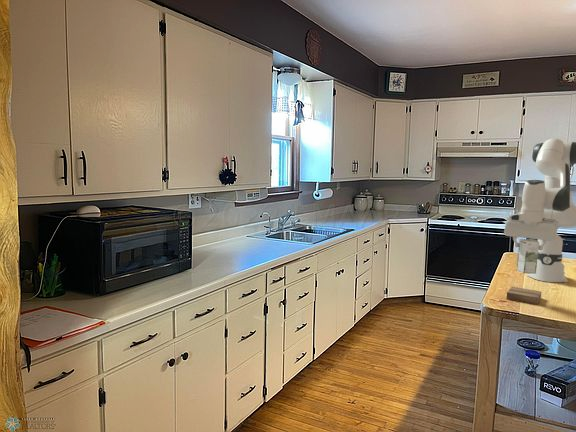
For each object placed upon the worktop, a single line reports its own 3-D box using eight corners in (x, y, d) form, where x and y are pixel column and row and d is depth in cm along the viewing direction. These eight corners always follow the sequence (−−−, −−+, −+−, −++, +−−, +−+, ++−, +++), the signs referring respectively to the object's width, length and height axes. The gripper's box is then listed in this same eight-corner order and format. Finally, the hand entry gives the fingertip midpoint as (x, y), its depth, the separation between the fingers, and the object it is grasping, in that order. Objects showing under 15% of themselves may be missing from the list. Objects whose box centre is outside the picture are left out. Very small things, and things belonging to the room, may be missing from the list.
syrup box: (528, 270, 193) (531, 238, 191) (536, 273, 187) (539, 241, 185) (516, 270, 193) (519, 238, 191) (523, 273, 187) (526, 240, 185)
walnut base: (511, 292, 200) (511, 286, 199) (540, 298, 193) (541, 291, 192) (506, 298, 190) (506, 292, 190) (537, 304, 183) (537, 298, 183)
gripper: (560, 218, 183) (556, 250, 185) (507, 214, 196) (504, 244, 197) (558, 220, 178) (555, 252, 180) (504, 215, 190) (502, 246, 192)
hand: (528, 248), depth 189 cm, fingers closed on syrup box, 8 cm apart
